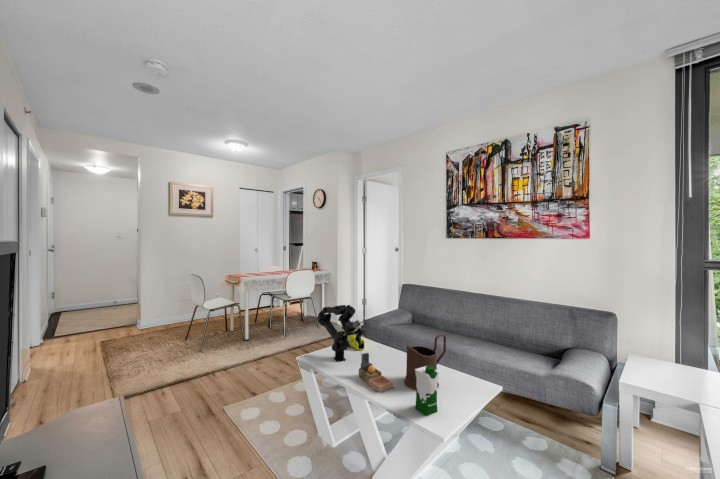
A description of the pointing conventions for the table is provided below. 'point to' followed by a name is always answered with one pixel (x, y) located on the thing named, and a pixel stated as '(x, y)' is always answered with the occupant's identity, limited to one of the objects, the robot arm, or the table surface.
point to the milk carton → (426, 390)
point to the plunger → (365, 362)
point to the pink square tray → (380, 383)
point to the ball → (371, 369)
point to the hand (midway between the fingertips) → (355, 346)
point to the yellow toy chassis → (355, 342)
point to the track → (368, 375)
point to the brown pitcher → (421, 361)
